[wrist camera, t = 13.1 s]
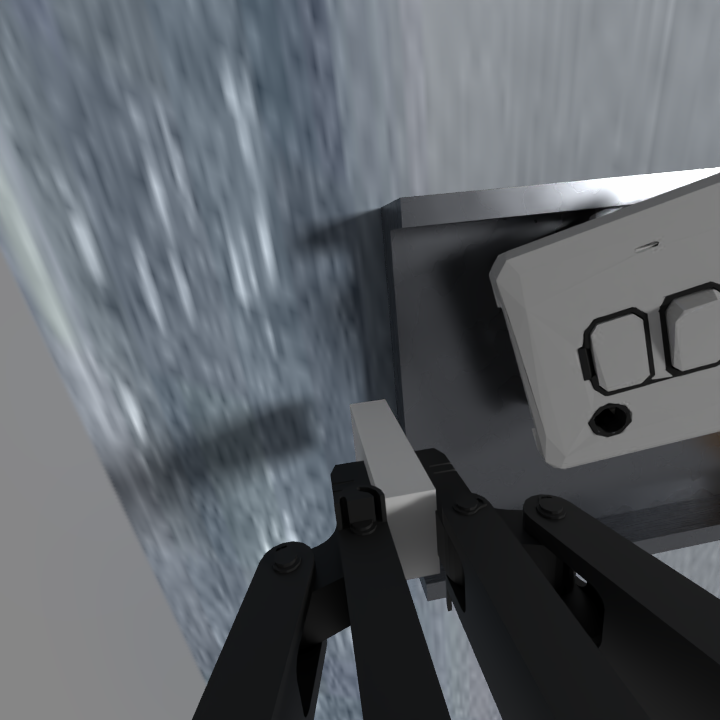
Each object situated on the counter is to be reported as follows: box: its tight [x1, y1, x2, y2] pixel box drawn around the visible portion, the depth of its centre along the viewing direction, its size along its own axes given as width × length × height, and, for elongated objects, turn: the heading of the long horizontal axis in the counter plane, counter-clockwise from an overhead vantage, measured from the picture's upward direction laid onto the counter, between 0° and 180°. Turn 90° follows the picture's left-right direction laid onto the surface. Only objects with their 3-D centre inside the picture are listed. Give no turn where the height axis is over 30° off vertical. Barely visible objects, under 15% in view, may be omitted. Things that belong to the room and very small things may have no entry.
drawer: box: [381, 168, 720, 601], centre depth 17 cm, size 18×24×8 cm
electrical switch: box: [489, 172, 720, 469], centre depth 15 cm, size 9×5×9 cm
